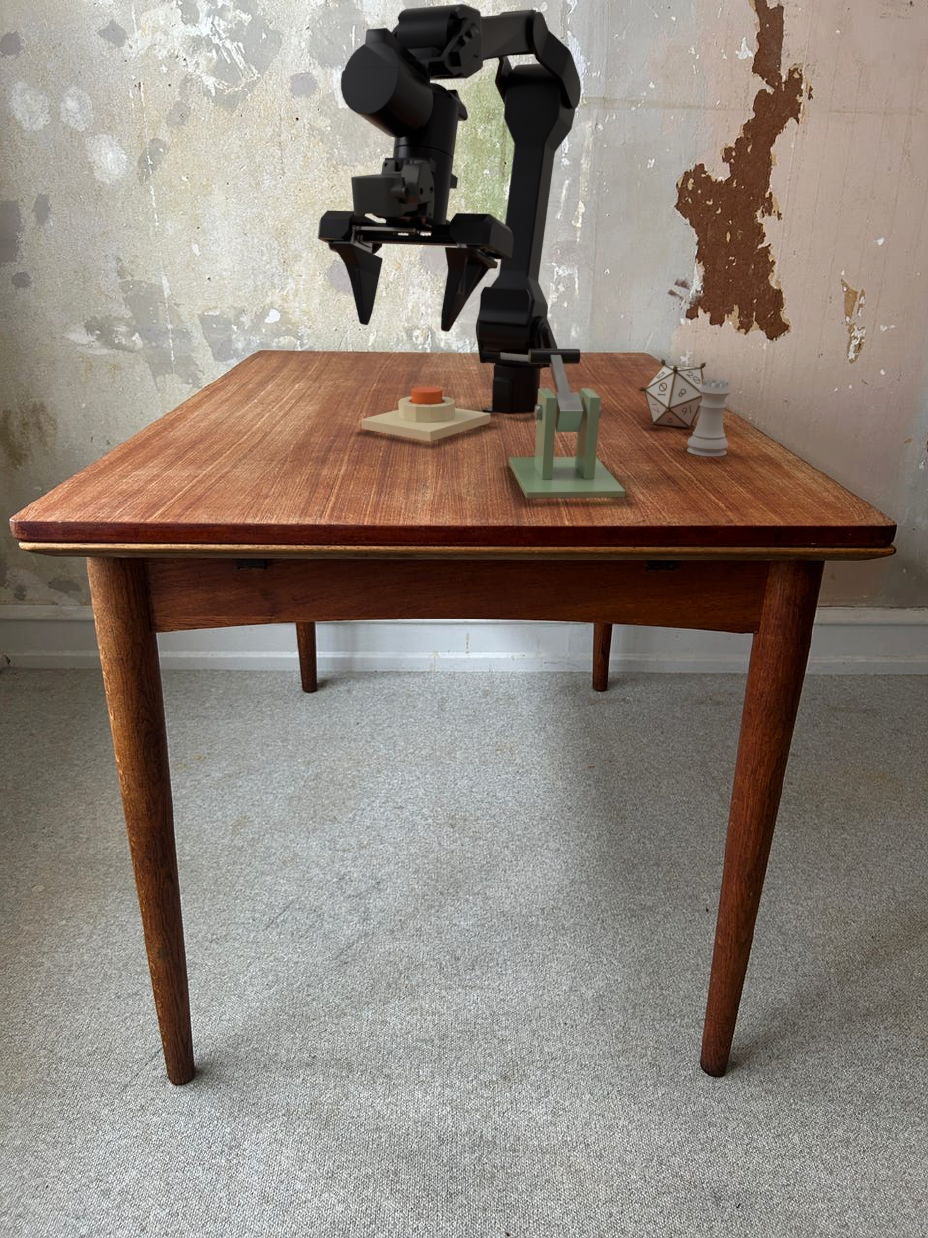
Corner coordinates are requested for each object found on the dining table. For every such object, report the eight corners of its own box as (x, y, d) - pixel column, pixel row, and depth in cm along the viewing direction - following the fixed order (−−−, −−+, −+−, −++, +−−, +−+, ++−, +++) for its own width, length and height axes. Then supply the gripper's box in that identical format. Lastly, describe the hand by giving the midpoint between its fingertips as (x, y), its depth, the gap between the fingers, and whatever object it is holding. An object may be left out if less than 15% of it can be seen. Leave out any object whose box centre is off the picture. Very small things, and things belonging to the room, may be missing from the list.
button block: (424, 416, 112) (424, 388, 111) (490, 427, 107) (490, 398, 106) (361, 433, 103) (360, 403, 102) (430, 446, 98) (430, 415, 97)
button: (424, 400, 106) (424, 385, 106) (448, 403, 104) (448, 388, 104) (405, 404, 104) (405, 389, 103) (430, 408, 102) (429, 393, 101)
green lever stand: (508, 468, 91) (511, 380, 87) (595, 467, 91) (602, 380, 88) (526, 504, 80) (530, 406, 76) (624, 503, 80) (633, 405, 77)
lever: (527, 362, 89) (529, 341, 88) (576, 362, 90) (579, 341, 88) (541, 432, 82) (544, 410, 81) (594, 431, 83) (598, 410, 81)
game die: (682, 457, 110) (739, 392, 107) (670, 447, 102) (731, 376, 99) (629, 413, 112) (683, 348, 110) (613, 400, 105) (671, 329, 102)
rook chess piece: (704, 463, 93) (714, 386, 90) (676, 454, 97) (685, 379, 94) (736, 459, 95) (747, 383, 92) (707, 449, 99) (717, 376, 95)
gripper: (291, 126, 80) (275, 305, 84) (475, 121, 73) (450, 319, 76) (358, 167, 90) (341, 326, 93) (526, 166, 83) (502, 340, 86)
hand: (403, 327), depth 87 cm, fingers open, 9 cm apart
